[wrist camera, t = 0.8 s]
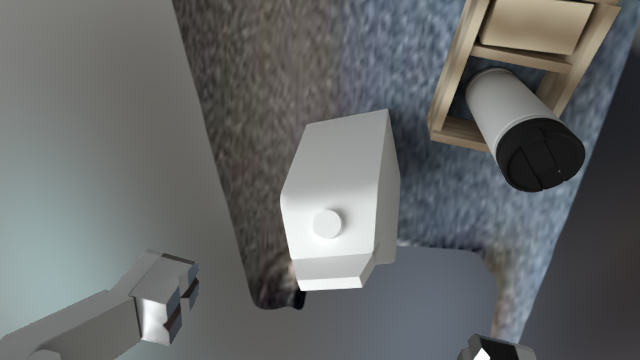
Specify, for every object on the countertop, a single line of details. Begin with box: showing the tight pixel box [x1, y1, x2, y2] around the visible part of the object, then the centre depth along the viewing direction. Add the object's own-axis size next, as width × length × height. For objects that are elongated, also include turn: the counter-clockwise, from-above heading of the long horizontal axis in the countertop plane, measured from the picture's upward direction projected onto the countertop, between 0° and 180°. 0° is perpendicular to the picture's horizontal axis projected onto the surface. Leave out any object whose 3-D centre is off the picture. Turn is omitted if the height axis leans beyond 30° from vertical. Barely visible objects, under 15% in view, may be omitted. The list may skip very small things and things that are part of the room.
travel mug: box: [465, 66, 585, 192], centre depth 37 cm, size 6×7×20 cm
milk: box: [280, 109, 401, 291], centre depth 43 cm, size 12×12×26 cm
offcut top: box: [479, 0, 594, 55], centre depth 37 cm, size 5×9×2 cm, turn 85°
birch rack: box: [426, 0, 622, 153], centre depth 41 cm, size 18×13×7 cm
